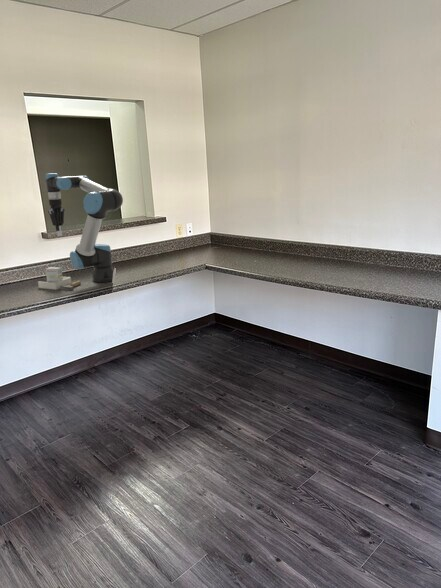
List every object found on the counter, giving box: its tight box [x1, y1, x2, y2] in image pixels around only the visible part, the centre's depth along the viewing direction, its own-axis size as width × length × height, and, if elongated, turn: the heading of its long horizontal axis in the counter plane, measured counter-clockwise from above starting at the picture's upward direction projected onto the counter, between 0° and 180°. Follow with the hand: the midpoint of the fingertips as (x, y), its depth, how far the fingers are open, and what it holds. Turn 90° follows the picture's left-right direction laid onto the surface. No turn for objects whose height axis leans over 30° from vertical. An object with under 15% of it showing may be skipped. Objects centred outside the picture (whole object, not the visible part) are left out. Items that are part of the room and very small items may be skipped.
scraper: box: [59, 280, 82, 291], centre depth 274 cm, size 13×8×2 cm, turn 159°
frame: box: [37, 276, 73, 291], centre depth 278 cm, size 13×15×4 cm
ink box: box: [45, 266, 64, 283], centre depth 276 cm, size 9×5×12 cm, turn 78°
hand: (59, 235), depth 287 cm, fingers closed
